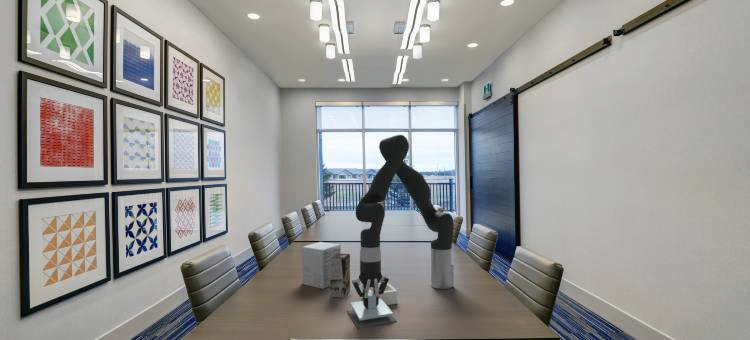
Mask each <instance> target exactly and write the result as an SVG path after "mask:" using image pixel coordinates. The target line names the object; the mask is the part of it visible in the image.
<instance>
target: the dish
mask: <svg viewBox="0 0 750 340" xmlns="http://www.w3.org/2000/svg"><path fill="white" fill-rule="evenodd" d="M380 285H381V282H379V283H378V289H379V287H380ZM361 286H362V287H361V288H362V290H363V284H362V285H361ZM369 292H373V288H372V287H370V288H369ZM369 292H368V293H369ZM380 298H381V299H382V300H383V302H384V303H385V304H386V305H387V306H390V305H396V304H397V305H398V290H397V289H396V288H395V287H394V286H393V285H391V284H390V283H389V282H388V283H387V286H386V288H385V291H384V293H383V294H380V295H379V299H380Z"/></svg>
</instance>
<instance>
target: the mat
mask: <svg viewBox="0 0 750 340" xmlns="http://www.w3.org/2000/svg"><path fill="white" fill-rule="evenodd" d="M346 312H347V315H349V317H350V319H351V320H352V321H353V324H354V325H355V327H356V329H362V328H369V327H374V326H380V325H385V324H386V325H387V324H392V323H397V319H396V318H395V317H394V315H391V316H385V317H379V318H373V319H366V320H360V321H359V319H358V317H357V315H356V314H355V312H354V310H353V309H350V310H349V309H348V310H347V311H346Z"/></svg>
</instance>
